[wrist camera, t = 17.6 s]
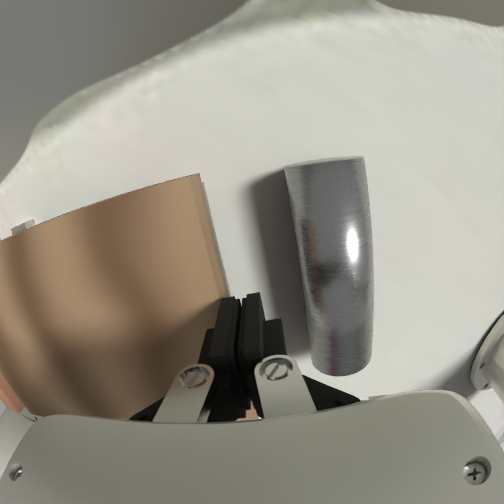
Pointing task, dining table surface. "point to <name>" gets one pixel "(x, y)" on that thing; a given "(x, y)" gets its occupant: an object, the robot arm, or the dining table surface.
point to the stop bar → (9, 396)
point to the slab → (110, 301)
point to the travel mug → (13, 433)
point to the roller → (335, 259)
